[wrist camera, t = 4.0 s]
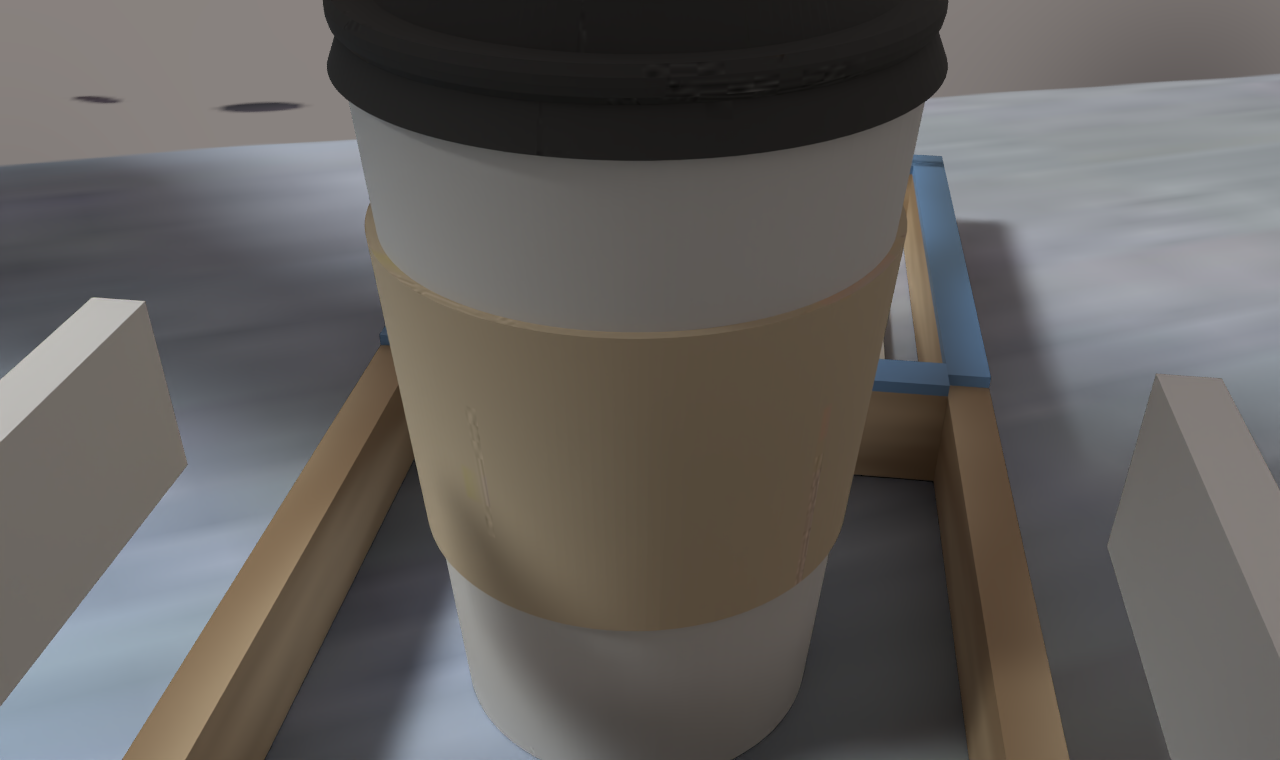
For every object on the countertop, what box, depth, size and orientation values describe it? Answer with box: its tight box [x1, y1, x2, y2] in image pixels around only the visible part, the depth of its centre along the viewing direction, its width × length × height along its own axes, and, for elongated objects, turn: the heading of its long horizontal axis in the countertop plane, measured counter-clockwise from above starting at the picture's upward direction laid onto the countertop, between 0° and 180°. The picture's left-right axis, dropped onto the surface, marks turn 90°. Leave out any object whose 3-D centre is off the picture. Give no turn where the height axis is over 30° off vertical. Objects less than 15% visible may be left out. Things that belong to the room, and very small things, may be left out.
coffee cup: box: [323, 0, 948, 760], centre depth 20 cm, size 9×9×15 cm
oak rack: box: [122, 155, 1069, 760], centre depth 29 cm, size 15×28×3 cm, turn 172°
